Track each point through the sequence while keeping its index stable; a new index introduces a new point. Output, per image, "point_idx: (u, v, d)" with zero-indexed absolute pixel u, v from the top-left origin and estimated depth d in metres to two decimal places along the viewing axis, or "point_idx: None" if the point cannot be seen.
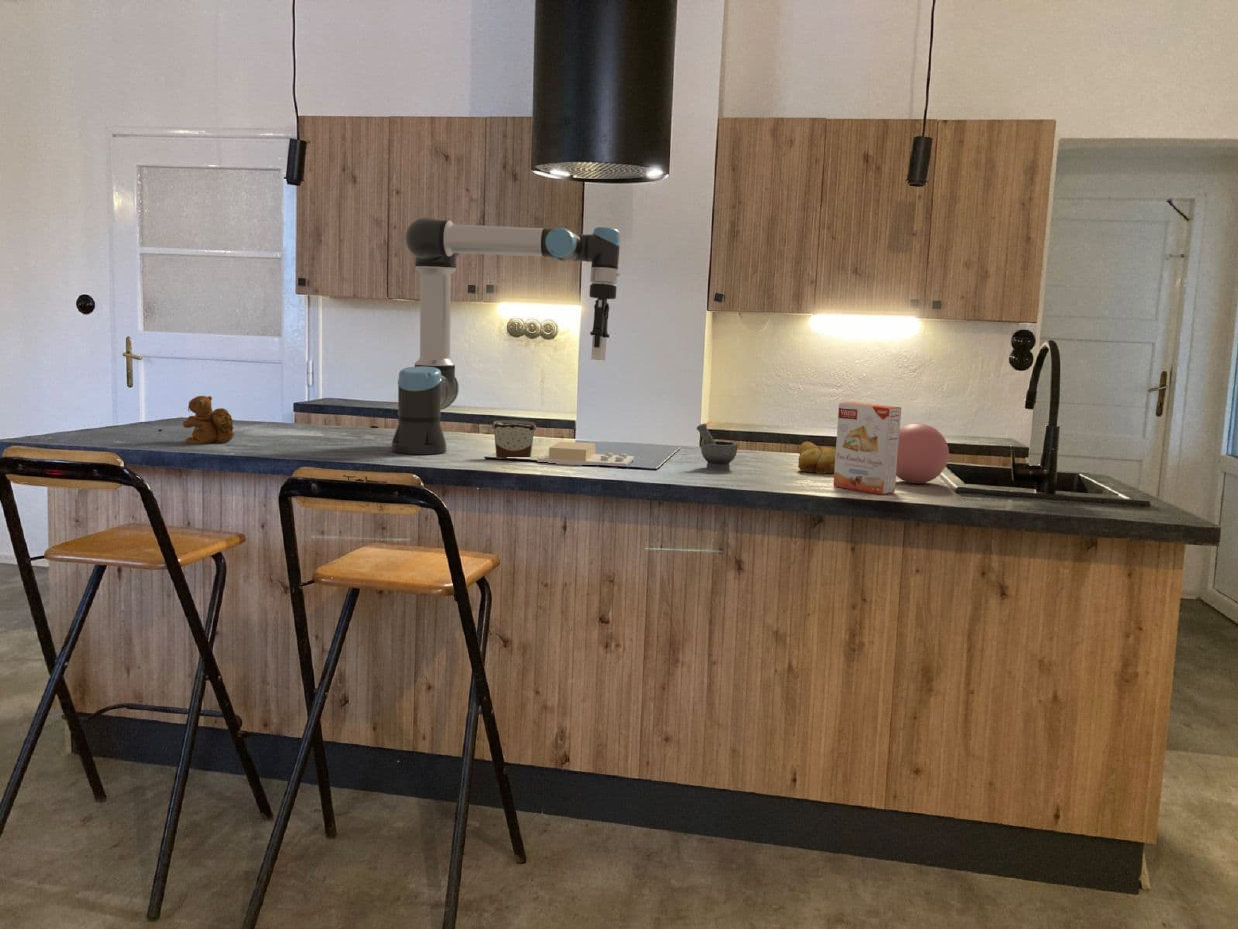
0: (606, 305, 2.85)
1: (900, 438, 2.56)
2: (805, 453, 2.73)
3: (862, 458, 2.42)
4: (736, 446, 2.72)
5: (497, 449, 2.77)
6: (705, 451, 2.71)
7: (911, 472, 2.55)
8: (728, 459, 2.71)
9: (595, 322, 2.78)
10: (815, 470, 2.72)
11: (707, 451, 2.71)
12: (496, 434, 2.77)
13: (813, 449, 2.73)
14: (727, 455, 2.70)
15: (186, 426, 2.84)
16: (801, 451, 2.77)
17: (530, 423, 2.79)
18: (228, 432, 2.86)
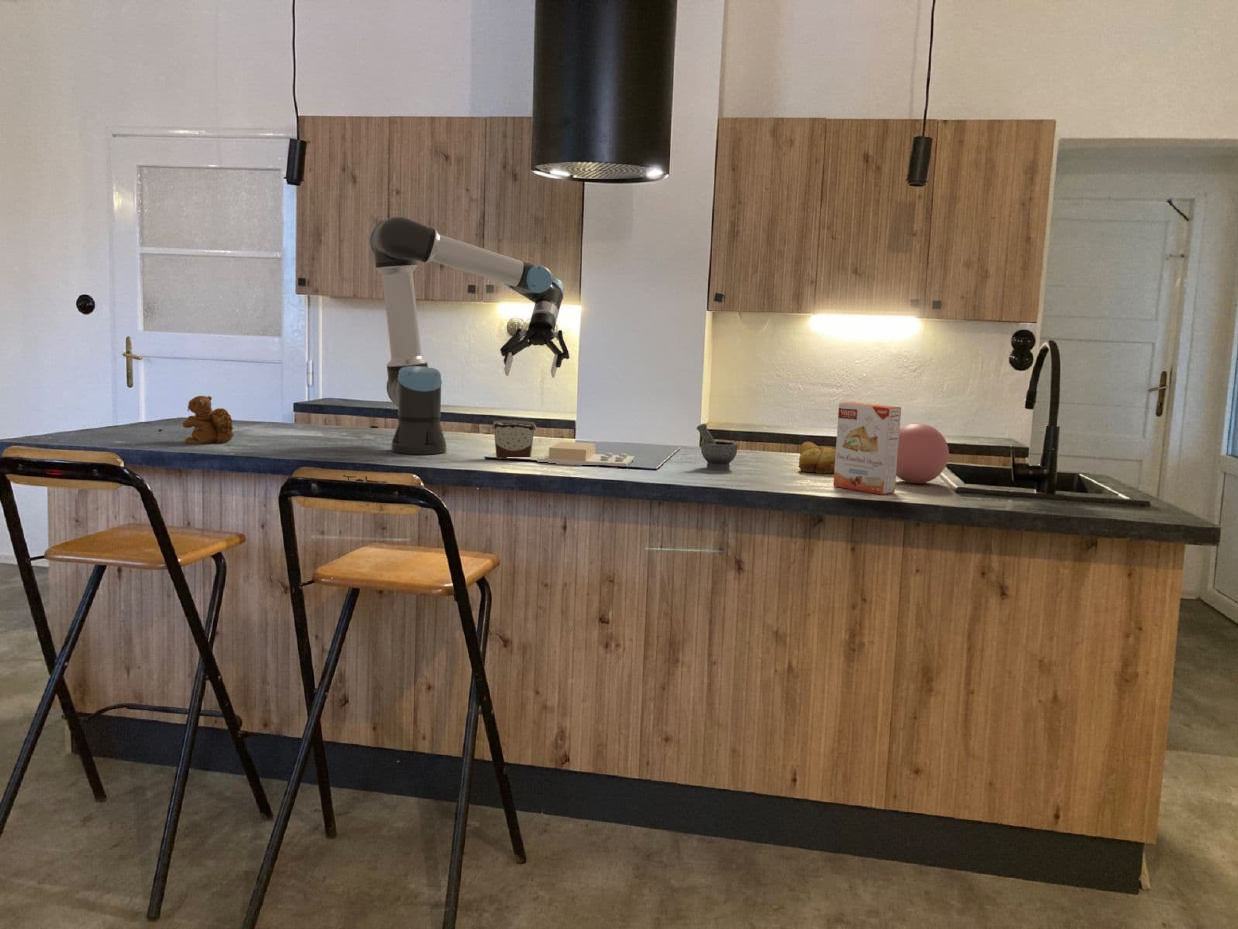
0: None
1: (900, 438, 2.56)
2: (805, 453, 2.73)
3: (862, 458, 2.42)
4: (736, 446, 2.72)
5: (497, 449, 2.77)
6: (705, 451, 2.71)
7: (911, 472, 2.55)
8: (728, 459, 2.71)
9: (566, 347, 2.93)
10: (815, 470, 2.72)
11: (707, 451, 2.71)
12: (496, 434, 2.77)
13: (813, 449, 2.73)
14: (727, 455, 2.70)
15: (186, 426, 2.84)
16: (802, 451, 2.77)
17: (530, 423, 2.79)
18: (228, 432, 2.86)
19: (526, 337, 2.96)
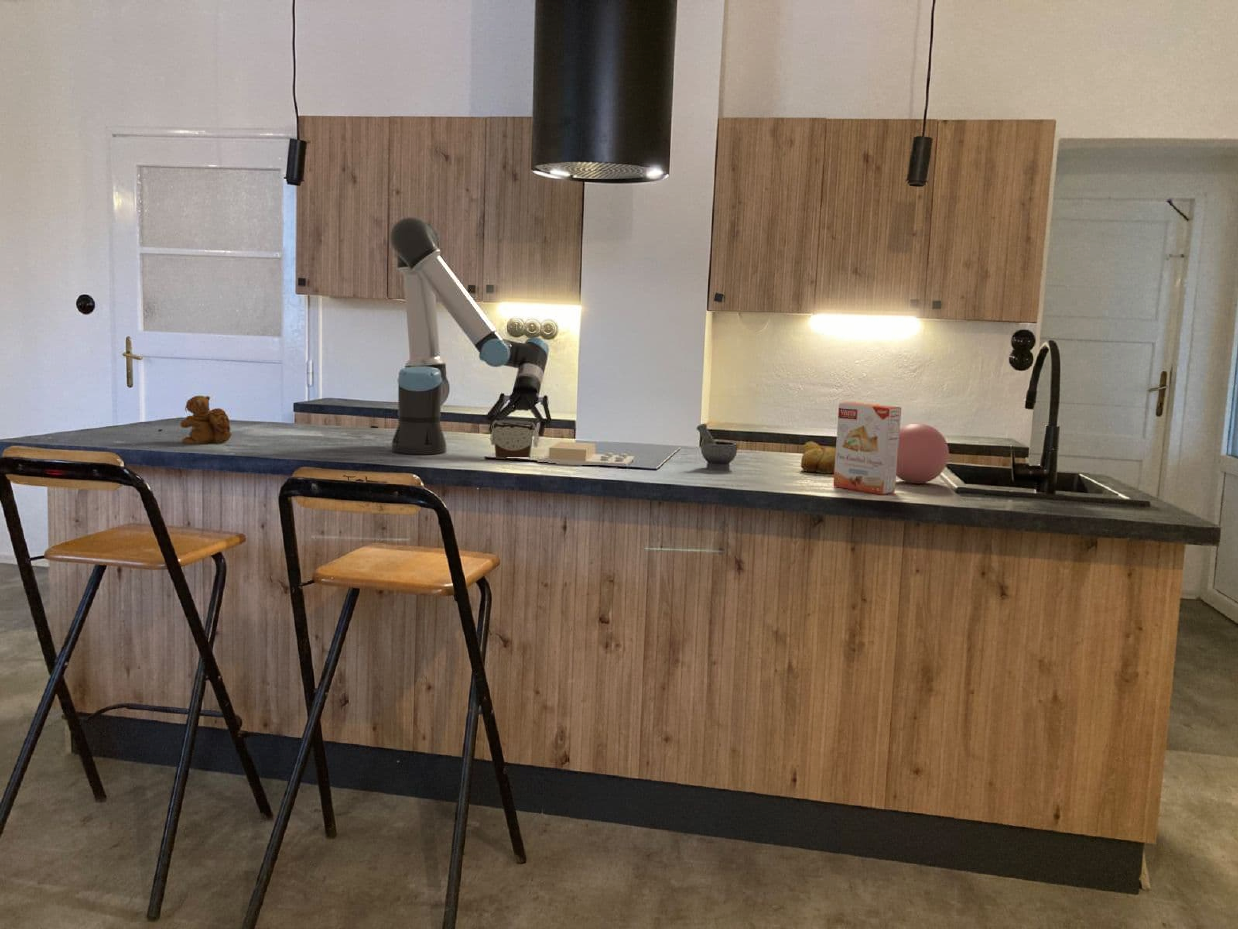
0: None
1: (900, 438, 2.56)
2: (807, 453, 2.73)
3: (862, 458, 2.42)
4: (736, 446, 2.72)
5: (496, 449, 2.78)
6: (705, 451, 2.71)
7: (911, 472, 2.55)
8: (728, 459, 2.71)
9: None
10: (817, 470, 2.72)
11: (707, 451, 2.71)
12: (495, 434, 2.77)
13: (816, 449, 2.73)
14: (727, 455, 2.70)
15: (183, 426, 2.84)
16: (804, 451, 2.77)
17: (530, 423, 2.79)
18: (225, 432, 2.85)
19: (511, 402, 2.84)
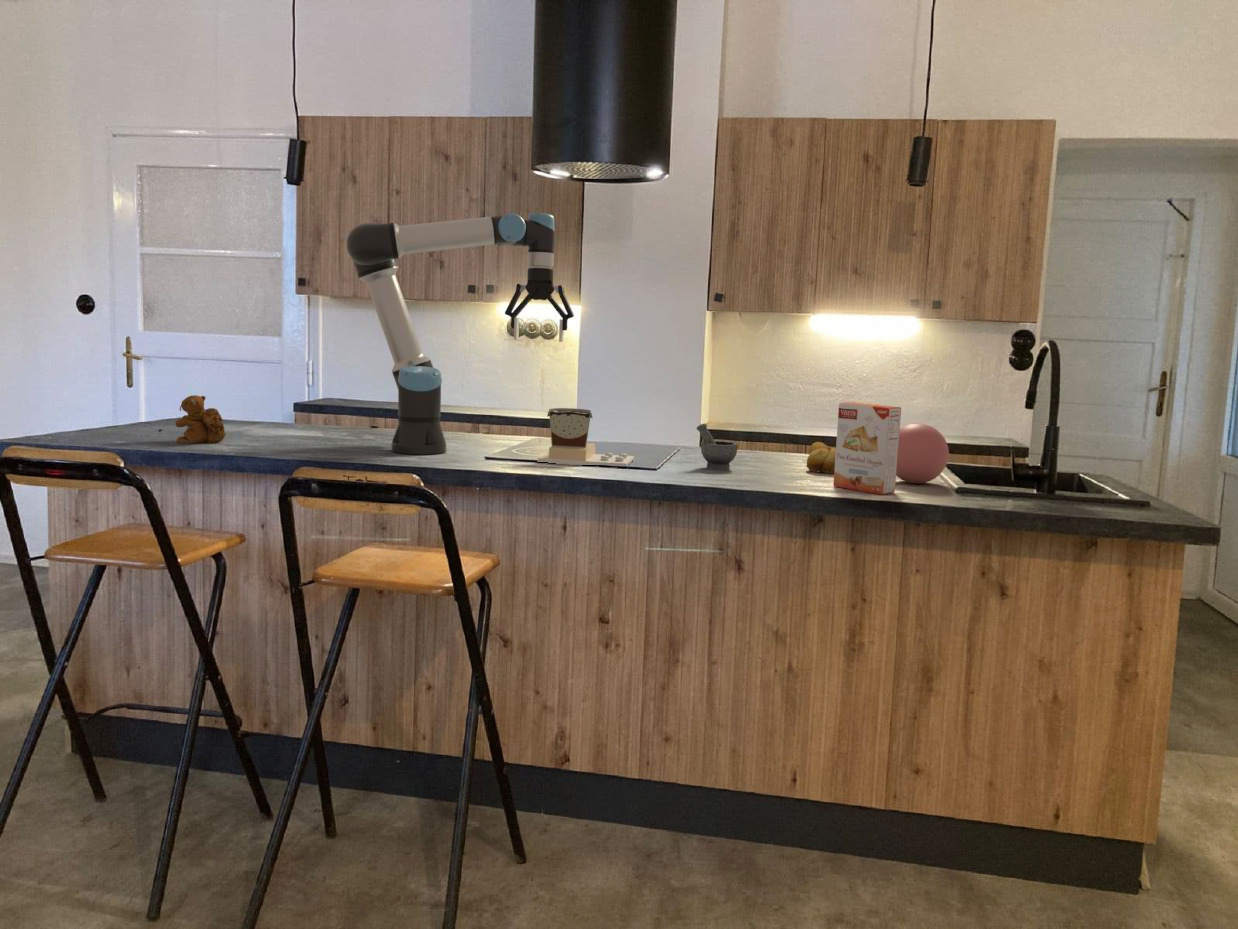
0: None
1: (900, 438, 2.56)
2: (813, 453, 2.74)
3: (862, 458, 2.42)
4: (736, 446, 2.72)
5: (552, 437, 2.74)
6: (705, 451, 2.71)
7: (911, 472, 2.55)
8: (728, 459, 2.71)
9: (569, 307, 2.97)
10: (822, 470, 2.72)
11: (707, 451, 2.71)
12: (551, 422, 2.74)
13: (821, 449, 2.74)
14: (727, 455, 2.70)
15: (178, 425, 2.84)
16: (811, 451, 2.78)
17: (585, 411, 2.76)
18: (218, 432, 2.85)
19: (528, 297, 2.98)
